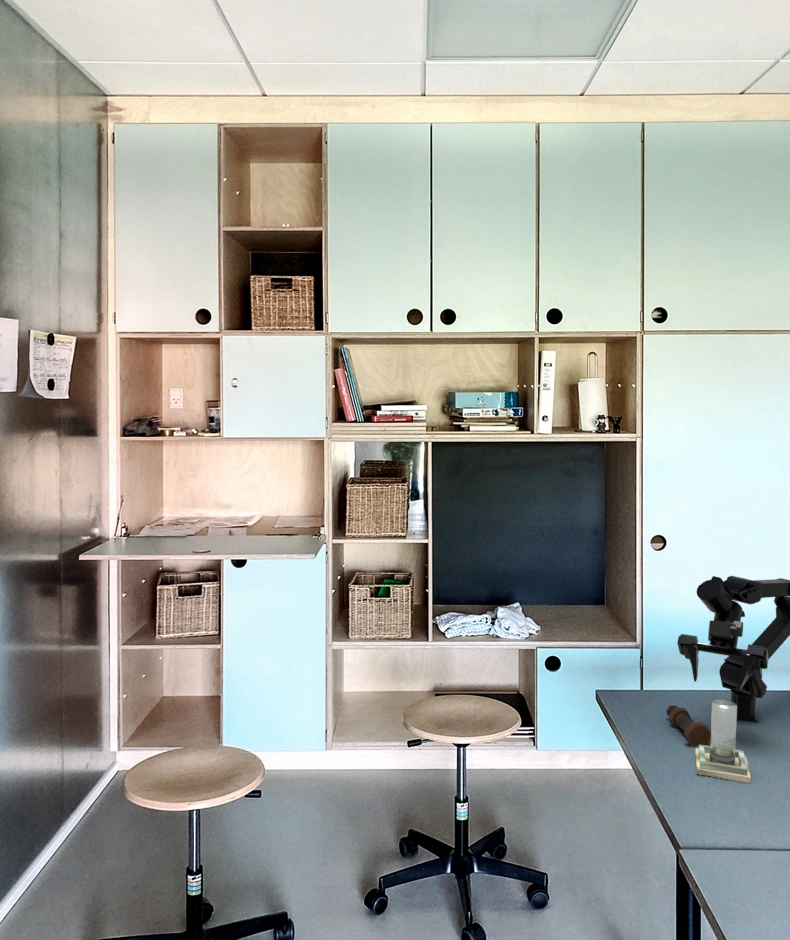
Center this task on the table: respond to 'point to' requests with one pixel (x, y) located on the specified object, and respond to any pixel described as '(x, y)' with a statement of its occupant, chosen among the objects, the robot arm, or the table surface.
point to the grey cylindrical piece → (723, 732)
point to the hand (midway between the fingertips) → (716, 684)
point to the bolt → (689, 726)
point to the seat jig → (722, 766)
